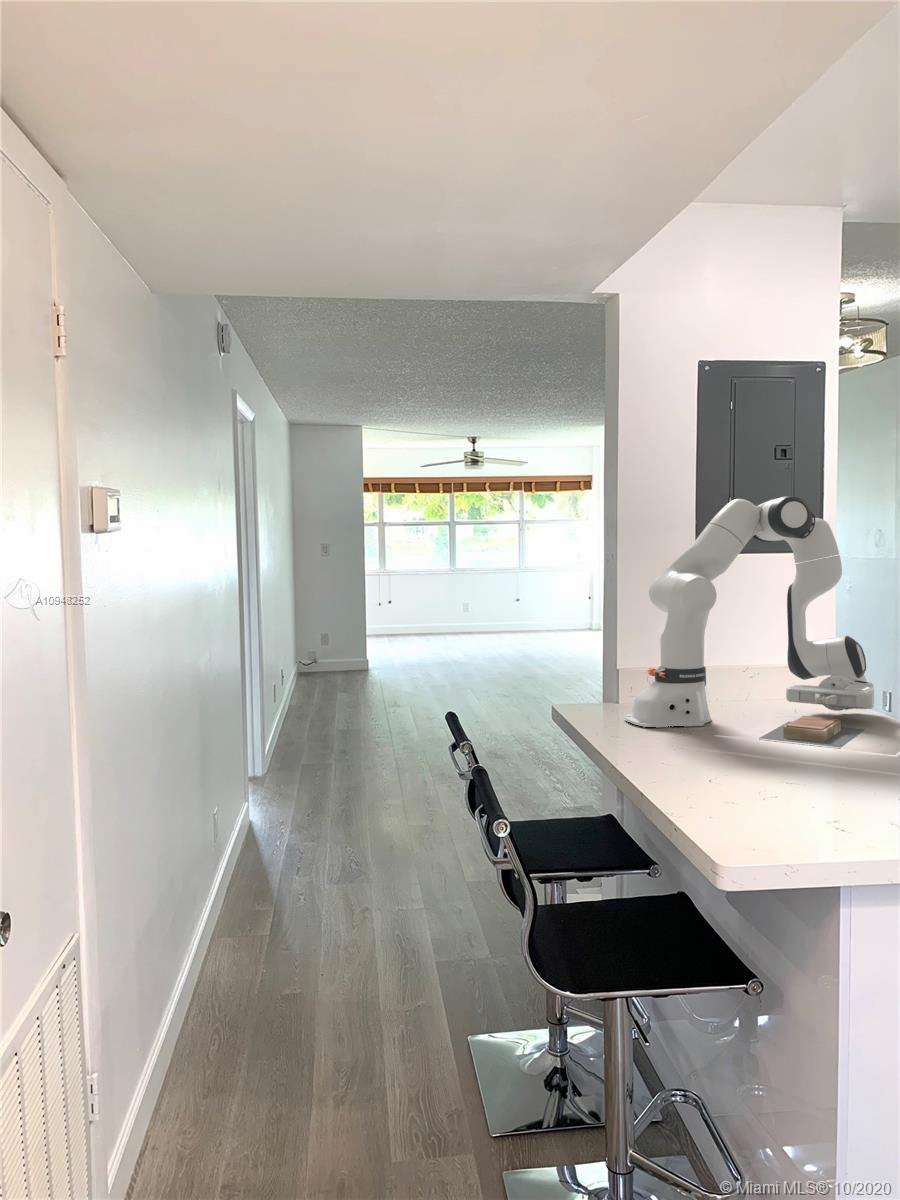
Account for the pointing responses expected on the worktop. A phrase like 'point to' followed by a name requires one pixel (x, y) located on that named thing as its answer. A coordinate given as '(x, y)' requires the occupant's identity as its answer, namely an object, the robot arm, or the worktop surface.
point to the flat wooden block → (812, 728)
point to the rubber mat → (834, 741)
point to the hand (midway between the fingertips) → (821, 701)
